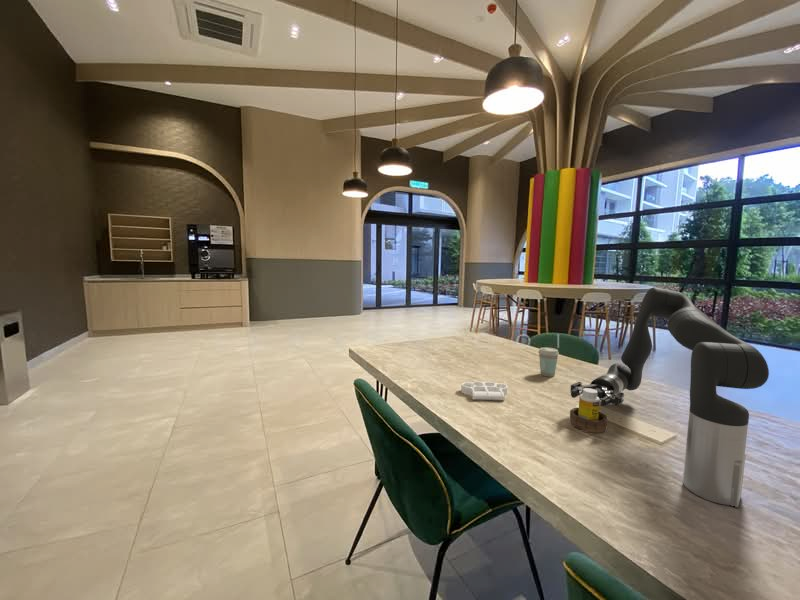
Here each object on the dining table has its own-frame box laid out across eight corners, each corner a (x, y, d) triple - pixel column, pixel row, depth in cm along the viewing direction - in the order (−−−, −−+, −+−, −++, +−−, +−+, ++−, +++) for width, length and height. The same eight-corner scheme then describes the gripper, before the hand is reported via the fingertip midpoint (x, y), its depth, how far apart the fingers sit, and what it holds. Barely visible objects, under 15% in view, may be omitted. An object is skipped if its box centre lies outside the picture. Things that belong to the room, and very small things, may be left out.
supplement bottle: (592, 427, 101) (595, 395, 100) (574, 420, 105) (576, 389, 104) (601, 422, 104) (604, 391, 103) (583, 416, 108) (585, 385, 107)
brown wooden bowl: (611, 426, 104) (612, 415, 103) (598, 436, 97) (599, 425, 97) (577, 415, 111) (578, 405, 111) (564, 424, 105) (564, 413, 105)
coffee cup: (539, 370, 159) (540, 346, 158) (558, 373, 155) (560, 348, 153) (536, 375, 152) (537, 350, 150) (556, 379, 147) (558, 352, 146)
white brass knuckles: (464, 401, 124) (459, 387, 138) (513, 403, 122) (503, 388, 137) (464, 392, 123) (459, 379, 138) (513, 394, 122) (504, 380, 137)
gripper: (585, 370, 118) (564, 380, 108) (632, 381, 107) (614, 393, 97) (584, 391, 119) (563, 403, 108) (630, 404, 108) (612, 418, 97)
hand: (587, 398), depth 103 cm, fingers open, 8 cm apart
